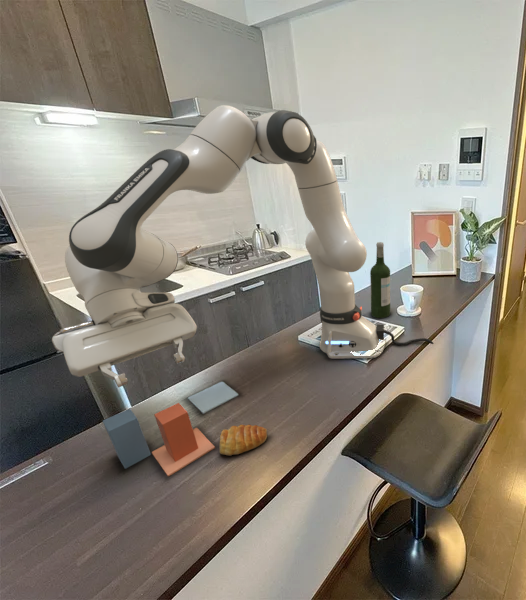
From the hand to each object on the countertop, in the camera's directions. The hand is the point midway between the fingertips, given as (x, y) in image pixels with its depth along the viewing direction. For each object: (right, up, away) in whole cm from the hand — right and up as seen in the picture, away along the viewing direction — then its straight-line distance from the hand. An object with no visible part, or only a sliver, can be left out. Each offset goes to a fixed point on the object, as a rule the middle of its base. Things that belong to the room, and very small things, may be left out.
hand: (153, 372), depth 62 cm
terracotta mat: (+1, -19, +8) cm, 20 cm away
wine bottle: (+39, +8, +73) cm, 83 cm away
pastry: (+12, -18, +10) cm, 24 cm away
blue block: (-9, -19, +6) cm, 22 cm away
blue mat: (-2, -12, +24) cm, 27 cm away
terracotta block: (+1, -18, +8) cm, 20 cm away
